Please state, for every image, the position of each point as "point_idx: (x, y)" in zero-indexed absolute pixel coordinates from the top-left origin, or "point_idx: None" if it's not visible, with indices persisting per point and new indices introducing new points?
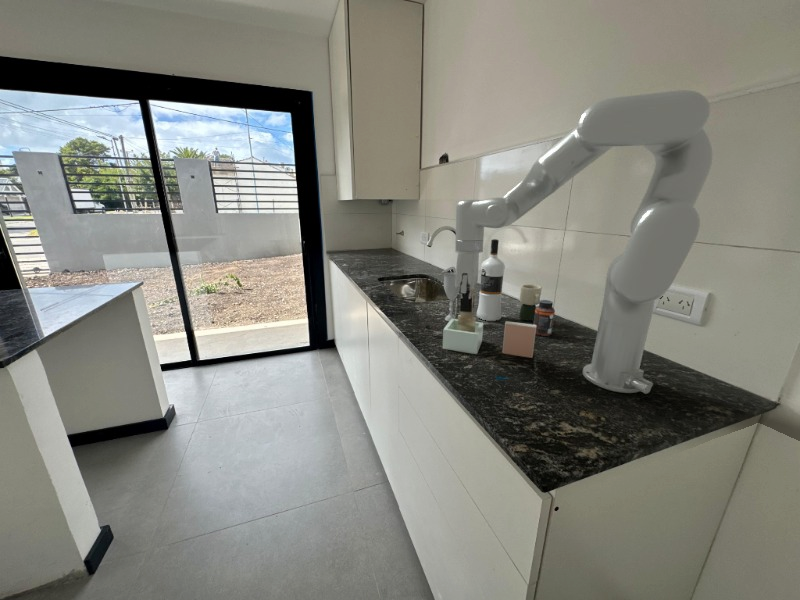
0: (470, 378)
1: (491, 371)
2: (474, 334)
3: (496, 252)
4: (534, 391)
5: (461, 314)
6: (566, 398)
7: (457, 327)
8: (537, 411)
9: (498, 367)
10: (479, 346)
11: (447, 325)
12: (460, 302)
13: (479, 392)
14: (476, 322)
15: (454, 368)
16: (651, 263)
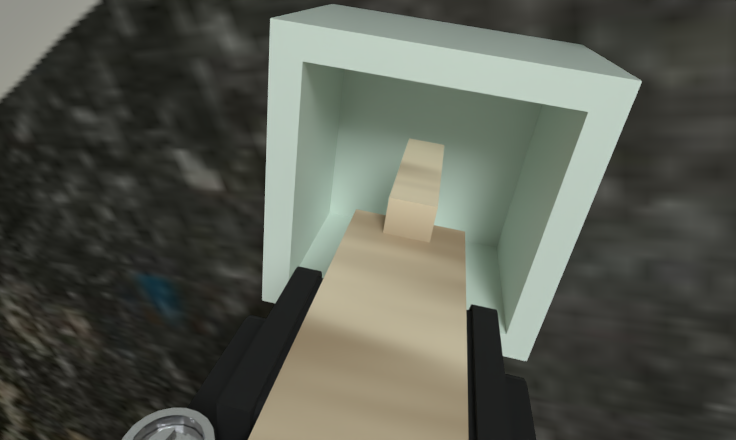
0: (95, 178)
1: (195, 267)
2: (263, 275)
3: None
4: (124, 371)
5: (340, 250)
6: None
7: (558, 132)
8: (24, 351)
9: (243, 298)
10: None
11: (397, 52)
12: (252, 342)
13: (17, 207)
14: (529, 314)
15: (147, 101)
16: None
